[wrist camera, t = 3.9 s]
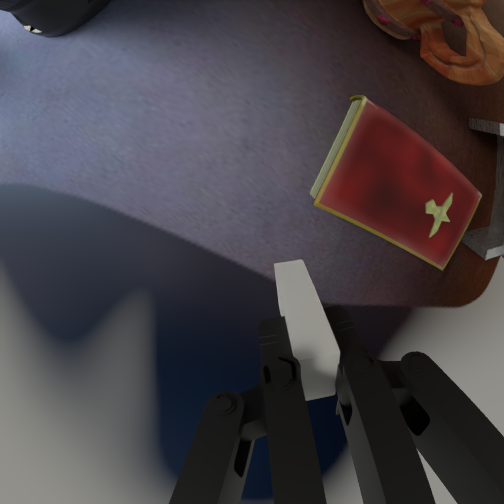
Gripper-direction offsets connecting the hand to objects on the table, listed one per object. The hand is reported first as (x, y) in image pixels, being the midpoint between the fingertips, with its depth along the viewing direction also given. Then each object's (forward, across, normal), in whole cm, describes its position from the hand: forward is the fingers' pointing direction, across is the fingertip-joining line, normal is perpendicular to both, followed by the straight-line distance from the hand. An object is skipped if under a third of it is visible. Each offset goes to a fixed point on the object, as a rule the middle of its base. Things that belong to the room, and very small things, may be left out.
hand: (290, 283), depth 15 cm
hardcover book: (+16, +16, 0) cm, 23 cm away
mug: (+15, +18, +19) cm, 30 cm away
